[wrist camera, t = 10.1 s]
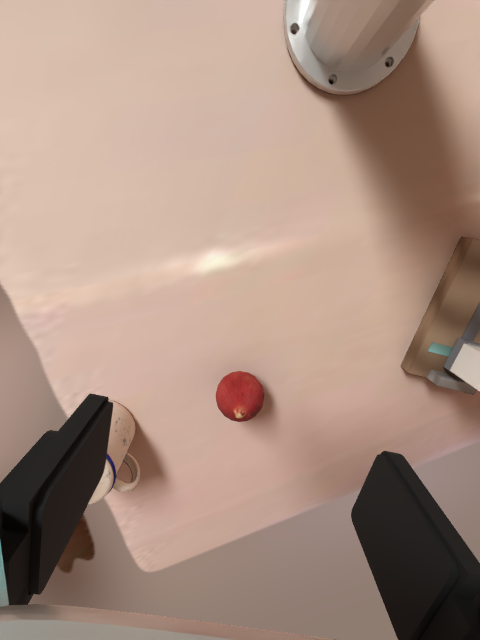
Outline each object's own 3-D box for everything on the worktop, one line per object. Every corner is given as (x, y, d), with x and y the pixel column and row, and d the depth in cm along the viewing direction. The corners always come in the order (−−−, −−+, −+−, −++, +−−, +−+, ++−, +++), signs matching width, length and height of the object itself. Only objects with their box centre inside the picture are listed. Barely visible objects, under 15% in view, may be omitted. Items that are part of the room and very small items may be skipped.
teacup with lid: (58, 427, 43) (-3, 499, 32) (95, 383, 41) (44, 444, 30) (129, 472, 46) (95, 554, 34) (167, 433, 44) (144, 506, 32)
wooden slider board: (461, 237, 36) (487, 239, 32) (536, 260, 37) (571, 264, 33) (400, 365, 41) (417, 380, 37) (468, 382, 42) (491, 399, 38)
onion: (269, 375, 41) (277, 411, 33) (245, 406, 42) (247, 447, 35) (233, 353, 40) (233, 384, 32) (209, 385, 41) (203, 423, 34)
